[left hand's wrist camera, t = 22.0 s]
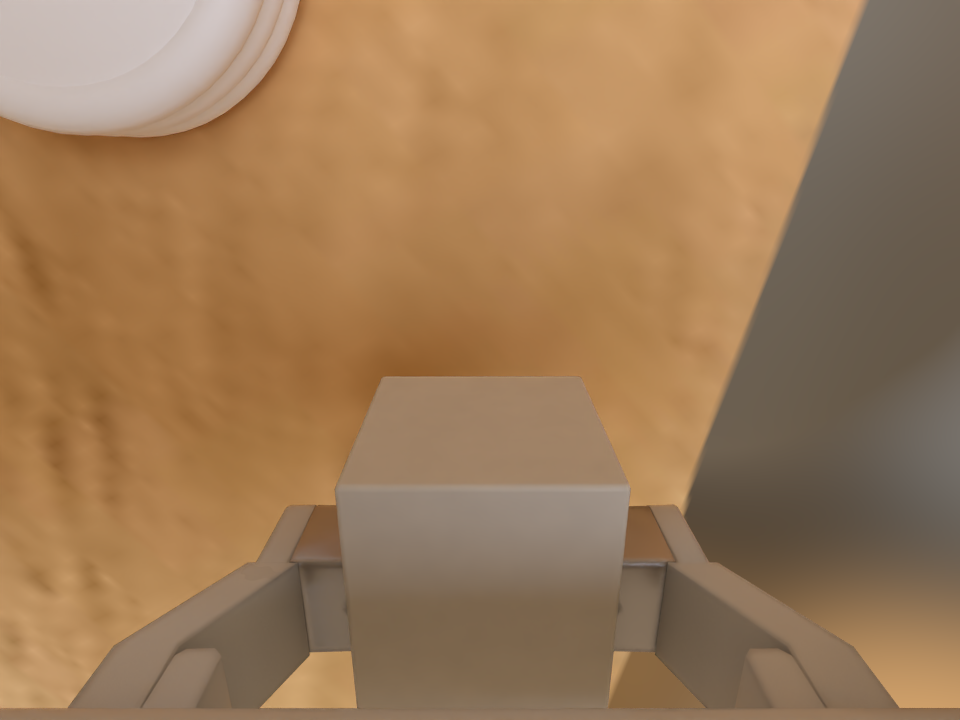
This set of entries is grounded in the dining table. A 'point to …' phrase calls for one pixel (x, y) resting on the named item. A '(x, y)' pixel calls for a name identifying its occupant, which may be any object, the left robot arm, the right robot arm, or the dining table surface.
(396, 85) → the dining table surface
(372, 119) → the dining table surface
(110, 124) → the white round disc
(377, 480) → the light grey cube
